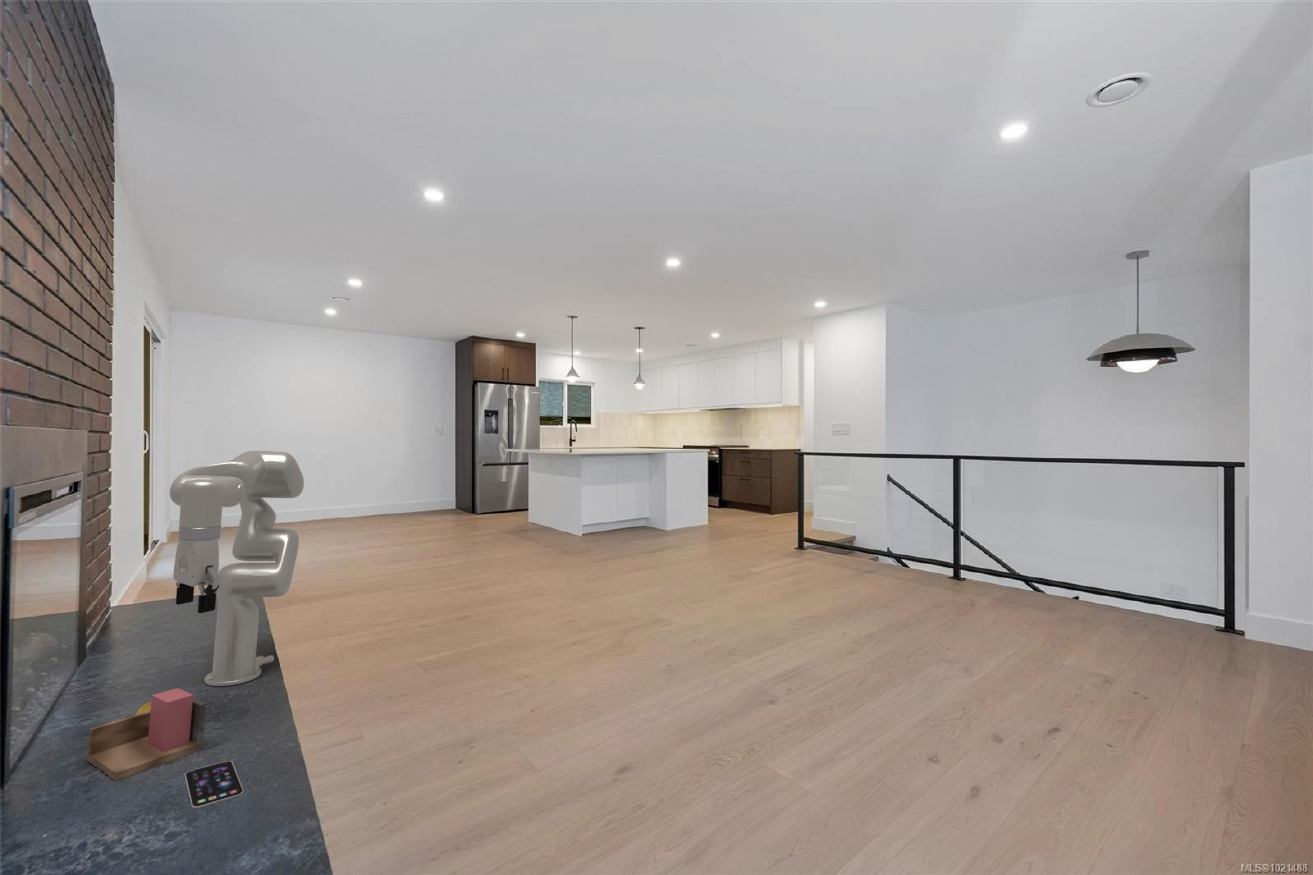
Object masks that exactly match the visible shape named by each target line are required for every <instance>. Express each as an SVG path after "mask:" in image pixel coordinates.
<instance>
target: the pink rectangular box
mask: <svg viewBox="0 0 1313 875" xmlns="http://www.w3.org/2000/svg"><path fill="white" fill-rule="evenodd" d="M193 698H194V695H193V694H192V693H189V692H188V691H185V690H184V689H180V688H179V687H177V688H173V689H172V688H171V689H170V690H165V691H161V692H159V693H156V694H155V693H154V694H152V695H151V700H150V702H151V710H150V722H149V733H148V744H149V745H151V746H152V747H154V748H156V749H158V750H160V751H161V752H165V751H168V750H171V749H174V748H176V747H179V746H182V745H185V744H188V743H189V739H190V727H191V715H192V703H193Z"/></svg>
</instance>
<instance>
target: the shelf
mask: <svg viewBox="0 0 1313 875" xmlns="http://www.w3.org/2000/svg"><path fill="white" fill-rule="evenodd" d="M206 709H207V703H205V702H203V701H200V700H199V699H196V698H194V697H193V703H192V715H191V727H190V739H189V743H188V744H185V745H182V746H179V747H176V748H174V749H171V750H168V751H165V752H161V751H160V750H158V749H156V748H154V747H152V746H151V745H149V744H148V733H149V722H150V711H148V712H144V713H141V714H137V715H136V714H134V715H131V716H128V717H125V718H120V719H117V720H114V721H111V722H108V723H104V724H100V725H97V726H93V727H90V728H89V733H88V734H89V736H88V743H87V744H88V746H87V755H86V762H87V761H88V762H89V763H88V762H87V763H88V764H90V763H91V764H93V765H95V767H97V768H98V769H100V770H101V771H103V772H104V773H103V772H102V773H103V774H104V775H106V774H107V775H108V776H107V775H106V776H107V777H109V778H110V779H112V780H113V781H115V782H118V781H120V780H123V779H126V778H128V777H131V776H134V775H136V774H140V773H142V772H145V771H147V770H150V769H153V768H155V767H158V766H160V765H164V764H166V763H169V762H172V761H175V760H176V759H180V758H182V757H185V756H188V755H190V754H194V753H196V752H199V751H201V750H203V743H204V731H205V720H206ZM91 764H90V765H91ZM95 767H94V768H95ZM97 768H96V769H97ZM98 769H97V770H98ZM100 770H99V771H100ZM101 771H100V772H101Z"/></svg>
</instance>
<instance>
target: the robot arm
mask: <svg viewBox="0 0 1313 875" xmlns="http://www.w3.org/2000/svg"><path fill="white" fill-rule="evenodd" d="M304 486H305V480H304V476H303V473H302V470H301V469H300V466H299V464H298V462H297V460H296V458H295V457H293V455H292V454H290V453H289V452H286V451H285V452H284V451H270V450H269V451H266V450H249V451H246V452H245V451H244V452H242V453H241V454H239V455H237V456H236V457H234V458H232V459H231V460H229V461H224V462H219V463H214V464H213V463H212V464H209V465H208V464H207V465H202V466H198V467H193V468H191V469H188V470H186V471H184V472H182V473H180V474H179V475H177V477H175V478H174V480H173V482H172V483H171V486H170V488H169V498H170V499H171V501H172V502H173V503H174V504H175V505H177V506H180V508H179V524H178V537H177V538H178V543H177V546H176V550H175V551H176V552H175V558H174V567H173V575H172V578H173V580H174V581H176V583H175V585H176V593H175V594H176V595H175V596H176V597H175V604H176V605H178V606H179V605H184V604H190V603H193V602H194V597H195V596H194V594H195V587H196V586H198V590H199V592H200V595H198V598H197V601H198V602H197V613H198V614H203V613H209V612H213V611H215V610H216V608H217V612H216V625H215V626H216V627H215V637H214V648H213V649H214V650H213V660H212V661H213V662H212V669H211V670H212V671H211V672H210V673H207V675H205V676H204V683H205V684H206V685H208V686H212V687H226V686H234V685H240V684H244V683H247V682H251V681H253V680H255V679H256V678H258V677H259V676H260V675H261V674H262V668H261V667H262V666H263V665H265V664H270V663H272V662H274V661H275V657H274V655H273V654H271V655H267V656H264V655H259V656H256V655H257V647H258V646H257V645H258V635H259V634H258V632H259V623H260V622H259V620H260V611H259V608H258V605H256V604H257V603H255V601H254V600H253V599H254V598H276V597H281V596H284V595H285V594H286V593H287V592H288V591H289V589H290V586H291V583H292V579H293V574H294V570H295V565H296V561H297V557H298V552H299V545H300V542H299V540H300V538H299V534H298V533H297V532H296V531H295V530H294V529H291V528H283V527H282V528H281V527H280V528H279V527H278V528H275V524H276V523H275V522H276V520H277V515H276V512H275V511H274V508H272V506H271V505H270V504H269V503H268V502H267V501H266V500H265V499H264V498H266V499H294V498H298V497H299V496H300V495H301V494H302V492H303V490H304V488H305V487H304ZM237 505H239V507H240V510H241V516H240V521H239V524H238V529H237V531H236V534H235V537H234V541H233V544H232V556H233V557H234V559H236V560H238V561H241V562H237V563H229V564H227V565H225V566H223V567H222V568H220V553H219V552H220V549H219V548H220V547H219V540H221V534H222V517H223V508H232V507H235V506H237ZM219 568H220V569H219ZM205 586H206V588H205ZM216 604H217V607H216Z"/></svg>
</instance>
